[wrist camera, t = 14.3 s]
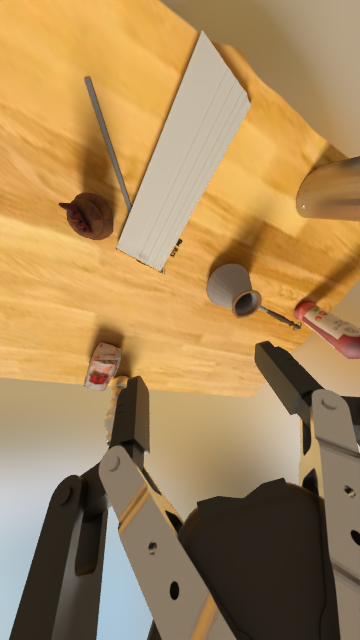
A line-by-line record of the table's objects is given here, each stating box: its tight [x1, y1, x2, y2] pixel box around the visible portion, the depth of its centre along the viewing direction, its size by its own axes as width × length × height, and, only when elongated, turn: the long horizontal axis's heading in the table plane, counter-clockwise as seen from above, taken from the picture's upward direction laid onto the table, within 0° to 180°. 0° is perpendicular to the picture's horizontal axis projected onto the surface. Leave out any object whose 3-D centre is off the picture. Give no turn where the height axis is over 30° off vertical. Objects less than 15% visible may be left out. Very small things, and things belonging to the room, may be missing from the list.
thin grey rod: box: [84, 77, 132, 214], centre depth 29 cm, size 1×19×1 cm, turn 12°
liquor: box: [294, 301, 360, 359], centre depth 43 cm, size 7×7×28 cm
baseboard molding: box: [116, 30, 251, 274], centre depth 31 cm, size 31×3×12 cm
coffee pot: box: [206, 264, 302, 331], centre depth 40 cm, size 21×12×15 cm, turn 65°
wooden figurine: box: [59, 193, 113, 240], centre depth 26 cm, size 7×6×15 cm
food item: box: [84, 342, 122, 391], centre depth 49 cm, size 14×8×10 cm, turn 153°
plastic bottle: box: [104, 376, 129, 446], centre depth 52 cm, size 6×7×20 cm
